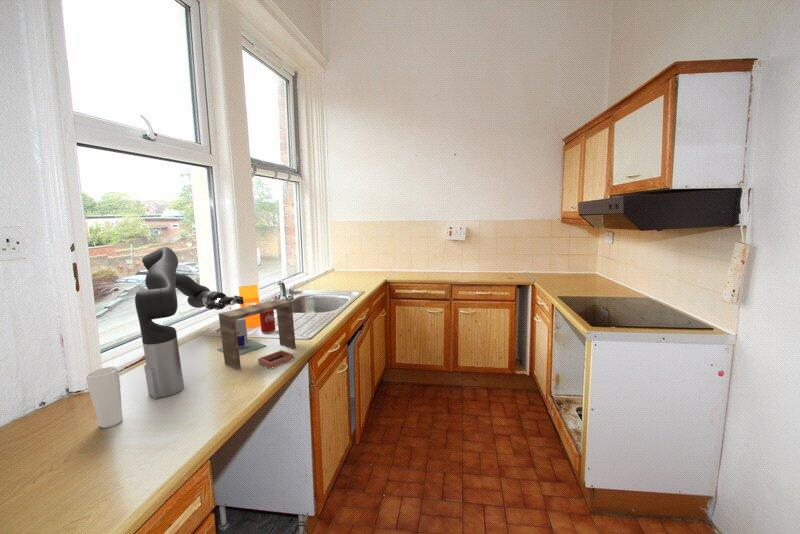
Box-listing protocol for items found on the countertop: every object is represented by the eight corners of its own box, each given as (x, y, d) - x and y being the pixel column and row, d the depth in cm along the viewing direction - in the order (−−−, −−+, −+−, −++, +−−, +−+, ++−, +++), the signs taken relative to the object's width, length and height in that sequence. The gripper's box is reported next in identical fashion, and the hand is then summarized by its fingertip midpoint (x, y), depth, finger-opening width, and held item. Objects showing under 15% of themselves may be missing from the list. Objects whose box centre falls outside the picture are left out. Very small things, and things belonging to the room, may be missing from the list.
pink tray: (270, 368, 138) (269, 363, 137) (258, 363, 143) (257, 358, 142) (294, 359, 145) (293, 354, 145) (281, 355, 150) (281, 350, 150)
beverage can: (271, 334, 176) (268, 309, 174) (258, 334, 177) (256, 309, 175) (278, 330, 182) (275, 305, 180) (266, 330, 183) (263, 305, 181)
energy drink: (231, 348, 159) (228, 320, 157) (242, 344, 164) (239, 316, 162) (240, 350, 157) (237, 321, 155) (251, 345, 161) (248, 317, 160)
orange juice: (262, 325, 191) (257, 286, 188) (242, 328, 187) (238, 288, 184) (261, 321, 198) (257, 283, 195) (242, 324, 195) (238, 285, 192)
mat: (233, 357, 151) (233, 356, 150) (217, 349, 159) (216, 349, 159) (266, 346, 161) (266, 345, 161) (248, 340, 170) (248, 339, 170)
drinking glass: (121, 414, 111) (113, 364, 108) (129, 421, 106) (121, 370, 104) (92, 425, 105) (83, 373, 103) (99, 433, 101) (89, 379, 99)
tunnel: (236, 369, 138) (230, 317, 135) (224, 364, 144) (218, 313, 141) (295, 348, 157) (291, 301, 154) (283, 344, 163) (278, 298, 160)
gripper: (197, 294, 165) (214, 298, 154) (229, 288, 175) (247, 291, 165) (199, 312, 166) (216, 317, 155) (231, 304, 176) (249, 309, 166)
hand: (232, 304), depth 160 cm, fingers open, 8 cm apart
